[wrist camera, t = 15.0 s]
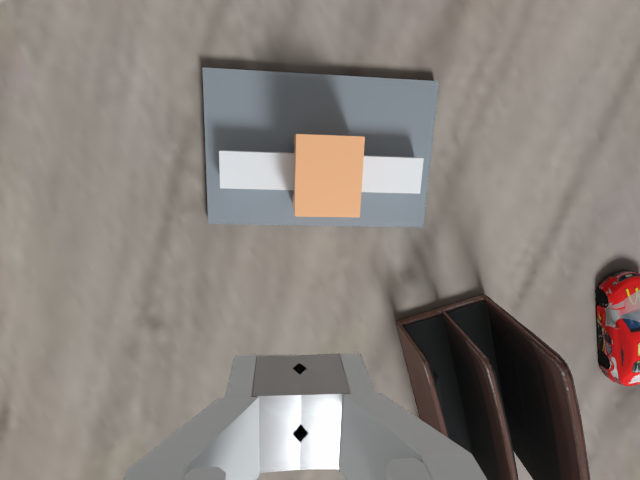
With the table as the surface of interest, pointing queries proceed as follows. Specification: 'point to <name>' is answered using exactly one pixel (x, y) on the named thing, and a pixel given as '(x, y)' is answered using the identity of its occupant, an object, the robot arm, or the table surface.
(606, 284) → the race car
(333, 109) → the rail board
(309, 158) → the block
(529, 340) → the letter holder
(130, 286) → the table surface
